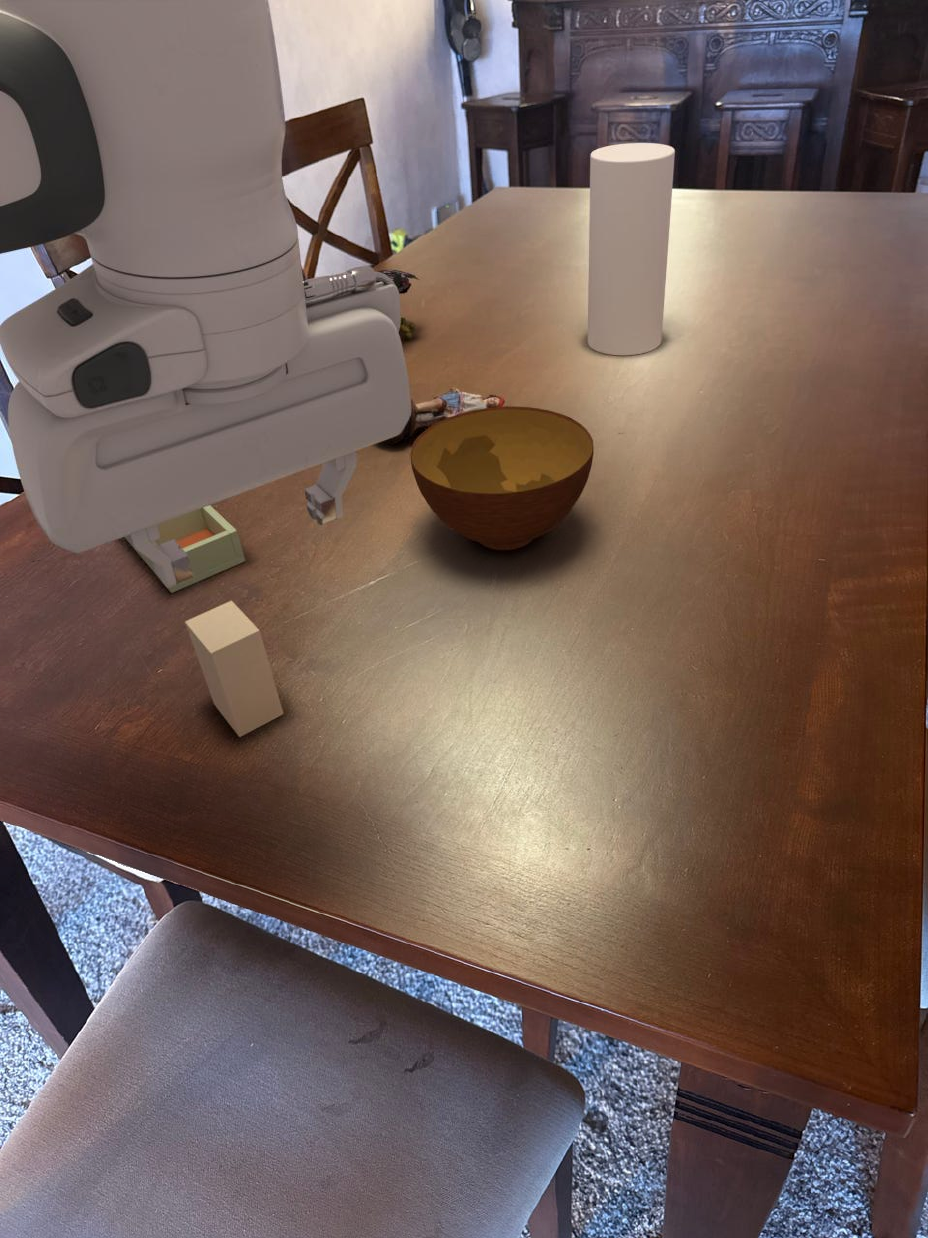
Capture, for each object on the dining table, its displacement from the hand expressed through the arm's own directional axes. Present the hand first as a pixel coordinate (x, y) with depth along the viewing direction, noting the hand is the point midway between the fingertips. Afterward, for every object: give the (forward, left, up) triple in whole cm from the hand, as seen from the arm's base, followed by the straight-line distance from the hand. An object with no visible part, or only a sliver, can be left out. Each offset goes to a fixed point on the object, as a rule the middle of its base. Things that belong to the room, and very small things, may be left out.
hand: (254, 546), depth 49 cm
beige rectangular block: (-5, +12, -23) cm, 26 cm away
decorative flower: (+22, +88, -23) cm, 94 cm away
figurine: (+23, +55, -23) cm, 64 cm away
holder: (-10, +40, -23) cm, 47 cm away
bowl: (+23, +29, -23) cm, 44 cm away
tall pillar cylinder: (+55, +71, -23) cm, 93 cm away
